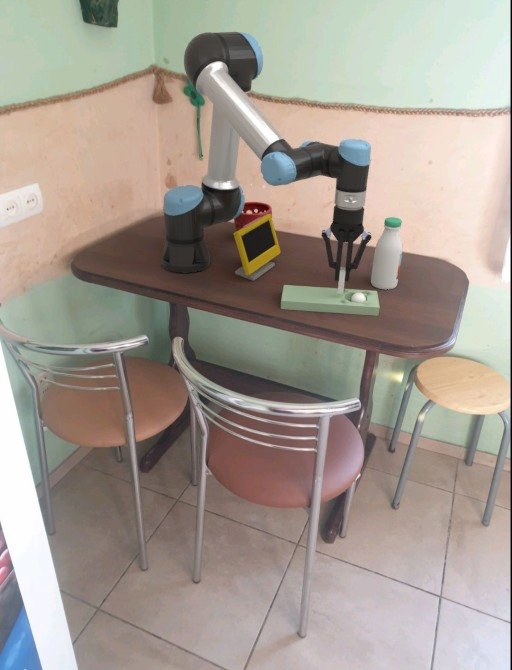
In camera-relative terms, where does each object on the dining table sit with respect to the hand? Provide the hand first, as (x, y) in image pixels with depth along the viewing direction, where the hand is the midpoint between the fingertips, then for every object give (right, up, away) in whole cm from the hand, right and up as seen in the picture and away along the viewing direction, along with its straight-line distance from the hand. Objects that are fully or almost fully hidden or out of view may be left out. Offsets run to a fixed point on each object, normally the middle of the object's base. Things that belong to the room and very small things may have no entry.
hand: (340, 291), depth 147 cm
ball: (+5, -2, 0) cm, 6 cm away
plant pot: (-24, +21, +44) cm, 54 cm away
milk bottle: (+15, +3, +14) cm, 21 cm away
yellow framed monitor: (-23, +8, +21) cm, 32 cm away
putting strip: (-3, -3, +2) cm, 5 cm away
